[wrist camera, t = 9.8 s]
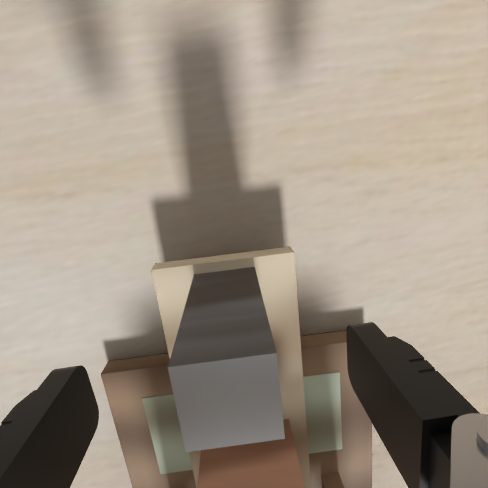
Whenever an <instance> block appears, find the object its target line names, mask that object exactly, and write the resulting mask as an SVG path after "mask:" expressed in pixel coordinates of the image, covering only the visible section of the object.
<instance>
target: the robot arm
mask: <svg viewBox="0 0 488 488" xmlns="http://www.w3.org/2000/svg"><path fill="white" fill-rule="evenodd" d="M346 341H347V368H348V375H349V379H350V382H351V385H352V388H353V390H354V392H355V394H356V395H357V397H358V399H359V401H360V402H361V404H362V406H363V408H364V410H365V411H366V413H367V415H368V417H369V418H370V420H371V422H372V424H373V425H374V427H375V429H376V431H377V433H378V434H379V436H380V438H381V440H382V441H383V443H384V445H385V447H386V448H387V450H388V452H389V454H390V456H391V457H392V459H393V461H394V463H395V464H396V466H397V468H398V470H399V472H400V473H401V475H402V477H403V479H404V480H405V482H406V484H407V486H408V487H409V488H488V415H486V414H480V413H479V412H478V411H477V410H476V409H475V408H474V407H473V406H472V405H471V404H470V403H469V402H468V401H467V400H466V399H465V398H464V397H463V396H462V395H461V394H460V393H459V392H458V391H457V390H456V389H455V388H454V387H453V386H452V385H451V384H450V383H449V382H448V381H447V380H446V379H445V378H444V377H443V376H442V375H441V374H440V373H439V372H438V371H435V368H434V367H433V366H432V365H431V364H430V363H429V362H428V361H427V360H424V357H423V356H422V355H421V354H420V353H419V352H418V351H417V350H416V349H415V348H414V347H413V346H412V345H410V344H408V343H406V342H404V341H402V340H401V339H399V338H397V337H395V336H393V337H387V336H386V335H385V334H384V333H383V332H382V331H381V330H380V329H379V328H378V327H377V326H376V324H374V323H373V322H370V323H364V324H357V325H351V326H348V327H347V329H346ZM98 419H99V410H98V405H97V402H96V399H95V396H94V393H93V390H92V386H91V383H90V380H89V377H88V374H87V371H86V369H85V368H84V367H83V366H74V367H67V368H61V369H55V370H53V371H52V372H51V373H50V374H49V375H48V376H47V378H46V379H45V380H44V382H43V383H42V384H41V385H40V387H39V388H38V389H37V390H35V391H33V392H32V393H30V394H29V395H28V396H27V397H25V398H24V399H23V400H22V401H21V402H19V403H18V404H17V405H16V406H15V407H14V408H13V409H12V410H11V411H10V413H9V414H8V415H7V416H6V418H5V419H4V420H3V421H2V422H1V423H2V424H1V426H0V488H70V486H71V484H72V482H73V480H74V477H75V475H76V473H77V471H78V469H79V466H80V464H81V462H82V460H83V458H84V455H85V453H86V451H87V449H88V447H89V444H90V442H91V440H92V438H93V436H94V433H95V431H96V429H97V425H98Z"/></svg>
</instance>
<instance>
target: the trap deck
mask: <svg viewBox="0 0 488 488" xmlns="http://www.w3.org/2000/svg"><path fill="white" fill-rule="evenodd" d="M300 340H301V354H302V368H303V382H304V396H305V410H306V424H307V438H308V452H309V466H310V479H311V488H372V422H371V420H370V418H369V417H368V415H367V413H366V411H365V410H364V408H363V406H362V404H361V402H360V401H359V399H358V397H357V395H356V394H355V392H354V390H353V388H352V385H351V382H350V379H349V375H348V368H347V341H346V330H345V331H337V332H330V333H322V334H314V335H306V336H300ZM169 361H170V358H169V354H161V355H153V356H145V357H138V358H130V359H122V360H115V361H108V363H107V365H106V366H105V368H104V370H103V371H102V373H101V377H102V380H103V384H104V387H105V391H106V395H107V398H108V402H109V405H110V409H111V412H112V416H113V419H114V423H115V426H116V430H117V433H118V437H119V441H120V444H121V448H122V451H123V455H124V458H125V462H126V465H127V469H128V472H129V476H130V479H131V483H132V487H133V488H196V484H195V479H194V474H193V469H192V464H191V460H190V455H189V452H186V451H185V446H184V442H183V437H182V432H181V428H180V423H179V418H178V413H177V409H176V404H175V399H174V394H173V390H172V385H171V380H170V375H169V371H168V365H169Z"/></svg>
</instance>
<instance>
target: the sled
mask: <svg viewBox="0 0 488 488" xmlns="http://www.w3.org/2000/svg"><path fill="white" fill-rule="evenodd" d="M151 272H152V276H153V281H154V286H155V291H156V296H157V301H158V305H159V310H160V315H161V320H162V325H163V329H164V334H165V339H166V344H167V349H168V354H169V358H170V361H169V365H168V371H169V375H170V380H171V385H172V390H173V394H174V399H175V404H176V409H177V413H178V418H179V423H180V428H181V432H182V437H183V442H184V446H185V451H186V452H189V455H190V460H191V464H192V469H193V474H194V479H195V484H196V488H311V479H310V466H309V452H308V438H307V424H306V410H305V396H304V382H303V368H302V354H301V340H300V326H299V312H298V299H297V285H296V271H295V257H294V251H293V250H292V248H291V247H282V248H274V249H266V250H258V251H250V252H242V253H234V254H226V255H218V256H210V257H202V258H194V259H186V260H177V261H169V262H161V263H155V265H154V266H153V268H152V269H151Z"/></svg>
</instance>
